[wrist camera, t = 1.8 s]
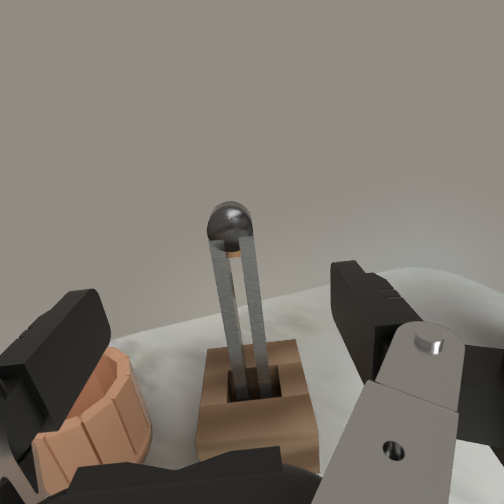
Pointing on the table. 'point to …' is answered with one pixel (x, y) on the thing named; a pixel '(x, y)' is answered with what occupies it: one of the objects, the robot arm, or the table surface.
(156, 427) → the table surface
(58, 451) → the crock
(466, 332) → the table surface
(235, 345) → the tongs
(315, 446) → the tongs stand
